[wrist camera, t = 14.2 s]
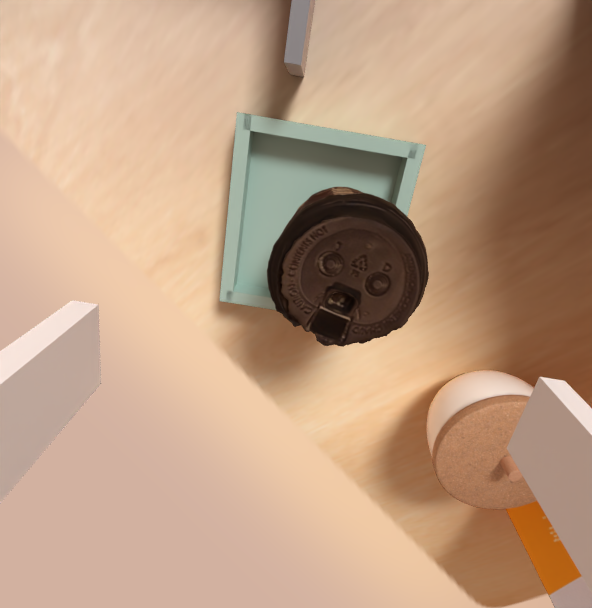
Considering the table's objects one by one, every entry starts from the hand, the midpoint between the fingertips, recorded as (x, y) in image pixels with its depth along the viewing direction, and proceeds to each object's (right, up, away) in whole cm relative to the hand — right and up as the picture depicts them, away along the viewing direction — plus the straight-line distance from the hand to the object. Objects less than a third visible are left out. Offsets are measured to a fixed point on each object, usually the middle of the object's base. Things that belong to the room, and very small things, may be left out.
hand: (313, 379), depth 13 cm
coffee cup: (+3, +8, +20) cm, 22 cm away
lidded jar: (+16, -7, +27) cm, 32 cm away
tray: (+1, +9, +21) cm, 23 cm away
